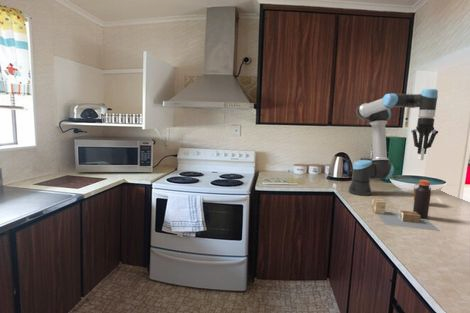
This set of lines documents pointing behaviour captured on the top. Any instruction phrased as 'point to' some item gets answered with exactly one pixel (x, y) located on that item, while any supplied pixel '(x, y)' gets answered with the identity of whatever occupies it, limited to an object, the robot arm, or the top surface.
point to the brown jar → (416, 188)
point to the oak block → (378, 206)
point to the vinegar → (422, 199)
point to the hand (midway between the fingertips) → (420, 159)
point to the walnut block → (409, 216)
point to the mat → (394, 220)
